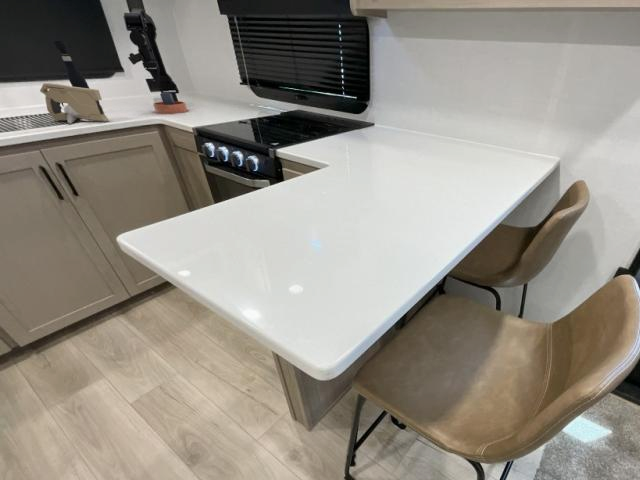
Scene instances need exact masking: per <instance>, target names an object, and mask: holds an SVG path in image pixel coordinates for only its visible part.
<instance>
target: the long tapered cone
mask: <svg viewBox="0 0 640 480" xmlns="http://www.w3.org/2000/svg"><path fill="white" fill-rule="evenodd" d="M63 111H64V113H68V114H66V118H67V119H66V121H67V123H68V124H70V125H71V124H73V123H75V122H76V121H77V120H79V119H78V118H75V117H74V116H73V115H79V114H78V113H77V112H76V111H75V110H74V109H72V108H71V107H70V106H69V105H68V104H67V105H65V106H64V108H63Z"/></svg>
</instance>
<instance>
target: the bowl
mask: <svg viewBox="0 0 640 480" xmlns="http://www.w3.org/2000/svg"><path fill="white" fill-rule="evenodd" d="M174 102H175V104H174V105H164V104H163V101H158V102H153V103H152V106H153V108H154V111H155V113H156V114H165V115H167V114H168V115H169V114H170V115H171V114H172V115H173V114H181V113H186V112H188V108H187V104H186V102H185V101H181V100H180V101H179V100H178V101H174Z"/></svg>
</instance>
